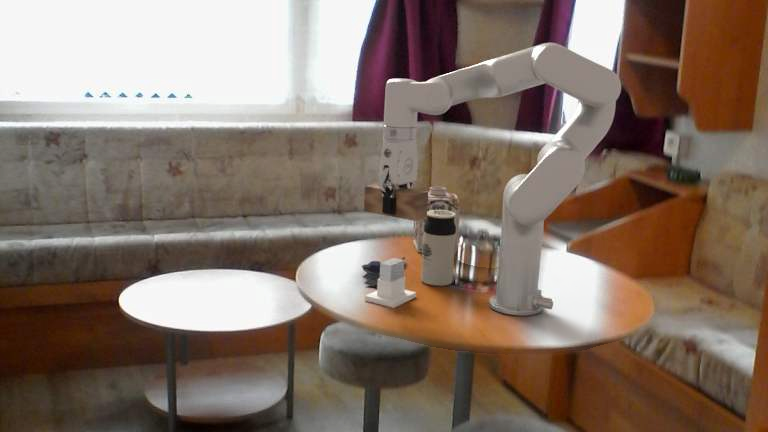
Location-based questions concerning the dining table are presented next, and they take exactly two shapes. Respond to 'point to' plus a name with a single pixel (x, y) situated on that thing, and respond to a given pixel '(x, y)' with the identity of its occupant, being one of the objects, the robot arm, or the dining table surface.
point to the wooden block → (398, 202)
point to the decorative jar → (437, 201)
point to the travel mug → (438, 248)
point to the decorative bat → (372, 272)
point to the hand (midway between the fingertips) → (395, 211)
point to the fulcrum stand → (391, 285)
